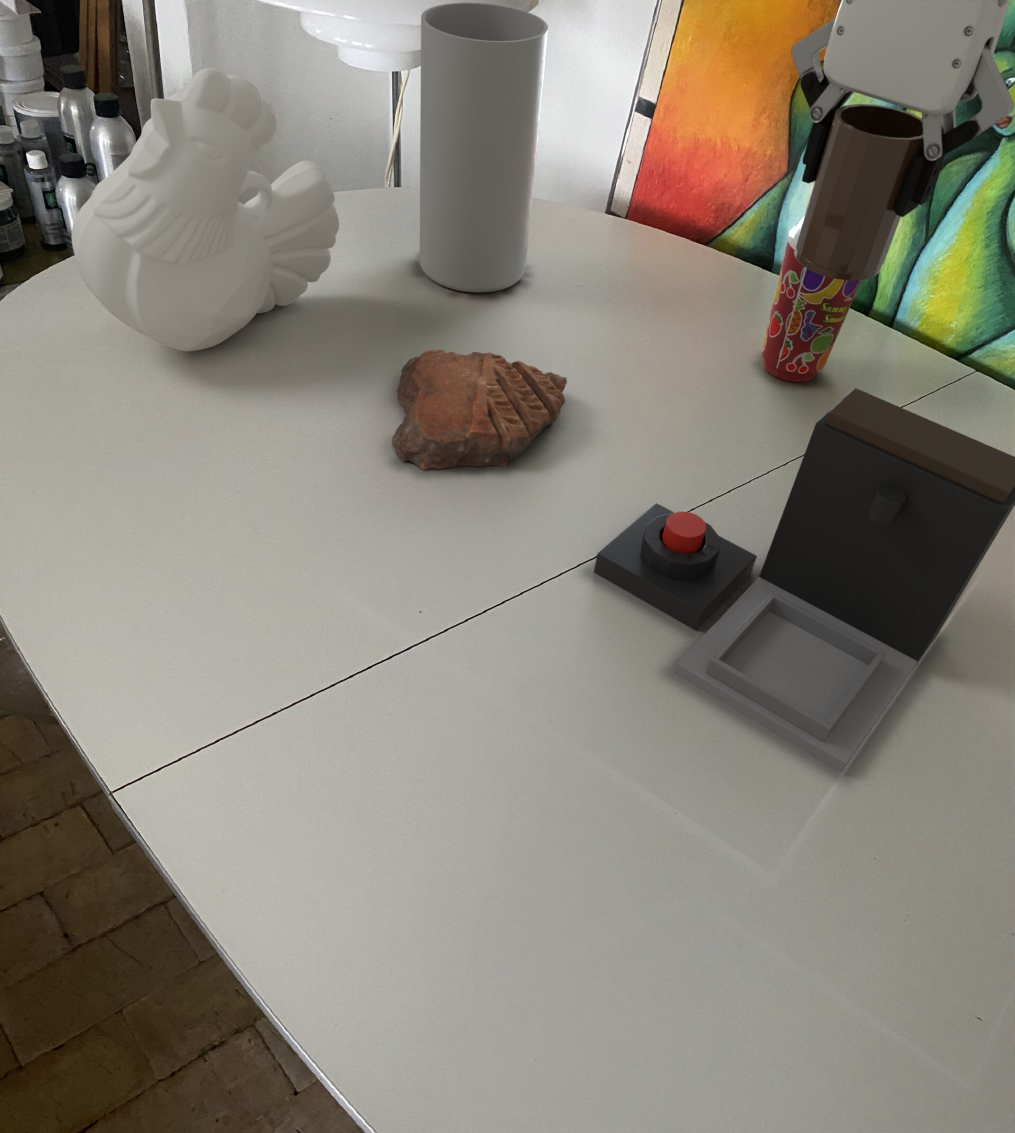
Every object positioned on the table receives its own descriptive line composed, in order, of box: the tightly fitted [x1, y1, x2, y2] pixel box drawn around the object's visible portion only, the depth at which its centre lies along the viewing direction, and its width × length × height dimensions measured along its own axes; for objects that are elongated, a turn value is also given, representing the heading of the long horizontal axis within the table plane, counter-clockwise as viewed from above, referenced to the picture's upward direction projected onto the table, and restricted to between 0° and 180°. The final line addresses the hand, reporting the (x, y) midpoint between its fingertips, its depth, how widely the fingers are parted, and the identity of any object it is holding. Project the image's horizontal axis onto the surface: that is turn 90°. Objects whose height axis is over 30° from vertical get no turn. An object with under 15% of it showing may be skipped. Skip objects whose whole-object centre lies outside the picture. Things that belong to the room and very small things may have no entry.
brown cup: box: [794, 103, 924, 281], centre depth 71 cm, size 7×7×10 cm
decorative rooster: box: [71, 67, 340, 352], centre depth 92 cm, size 25×16×25 cm
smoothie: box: [761, 216, 863, 383], centre depth 96 cm, size 8×8×20 cm
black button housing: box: [593, 502, 758, 632], centre depth 78 cm, size 10×9×4 cm
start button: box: [662, 511, 706, 554], centre depth 76 cm, size 3×3×2 cm
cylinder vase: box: [419, 2, 549, 293], centre depth 103 cm, size 12×12×25 cm
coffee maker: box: [674, 387, 1015, 773], centre depth 68 cm, size 14×18×17 cm
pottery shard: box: [391, 349, 568, 471], centre depth 91 cm, size 16×16×4 cm
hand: (859, 192), depth 71 cm, fingers closed on brown cup, 6 cm apart
